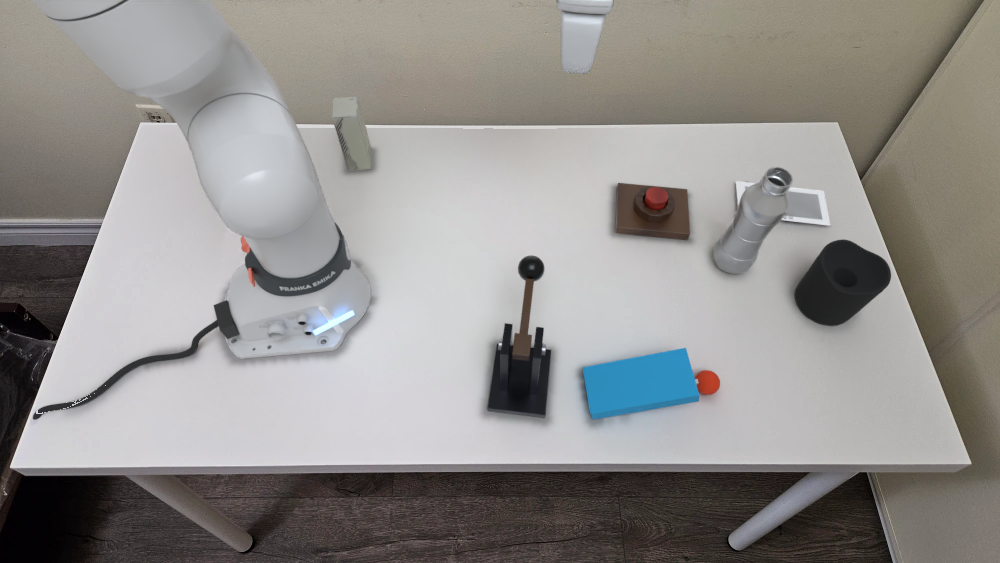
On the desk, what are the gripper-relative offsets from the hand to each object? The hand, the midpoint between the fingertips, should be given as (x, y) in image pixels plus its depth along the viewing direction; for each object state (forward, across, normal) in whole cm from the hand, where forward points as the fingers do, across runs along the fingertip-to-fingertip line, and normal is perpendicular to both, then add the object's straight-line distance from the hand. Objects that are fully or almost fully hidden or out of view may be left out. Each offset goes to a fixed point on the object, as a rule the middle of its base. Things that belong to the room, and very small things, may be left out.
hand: (575, 60), depth 81 cm
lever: (+16, +32, -3) cm, 36 cm away
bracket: (+26, +38, -2) cm, 46 cm away
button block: (+26, +4, +16) cm, 31 cm away
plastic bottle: (+26, +13, +29) cm, 41 cm away
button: (+23, +4, +16) cm, 28 cm away
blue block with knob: (+26, +37, +16) cm, 48 cm away
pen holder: (+26, +19, +43) cm, 53 cm away
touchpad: (+26, 0, +38) cm, 46 cm away
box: (+26, -1, -37) cm, 45 cm away
